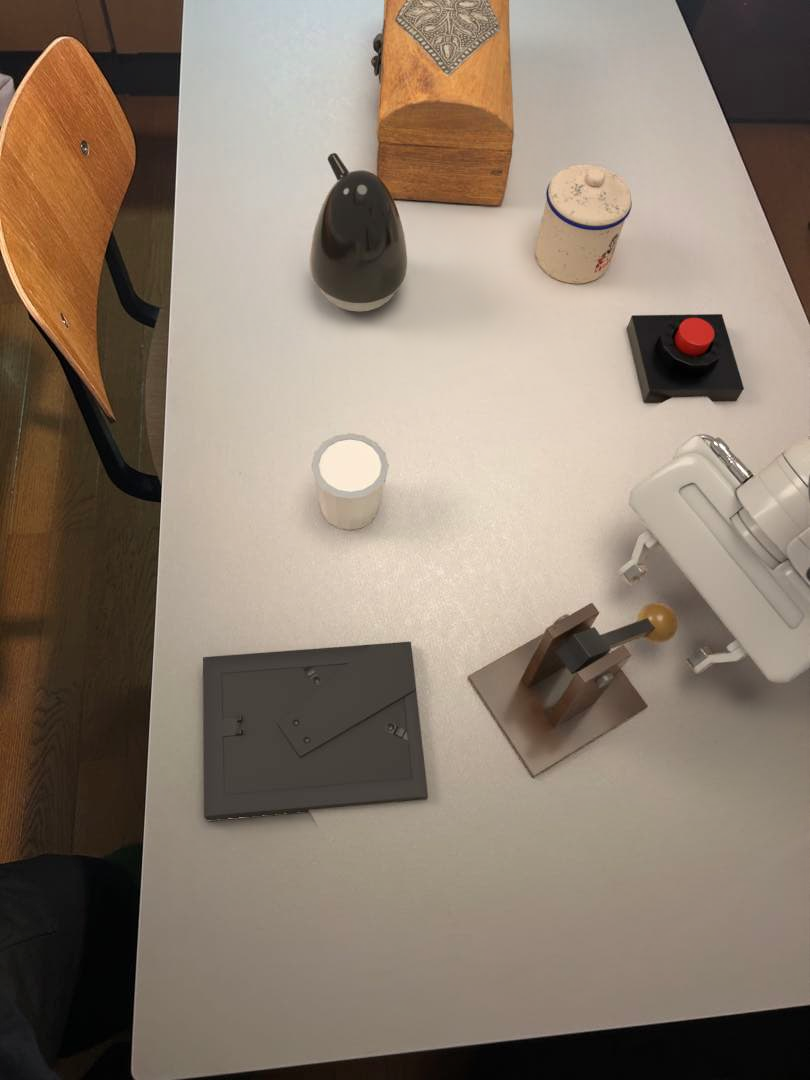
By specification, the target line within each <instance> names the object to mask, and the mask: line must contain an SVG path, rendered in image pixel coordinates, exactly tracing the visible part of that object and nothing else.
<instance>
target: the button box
mask: <svg viewBox="0 0 810 1080" xmlns="http://www.w3.org/2000/svg"><path fill="white" fill-rule="evenodd" d="M688 318H699V319H702V320H704V321H706V322H708V323H709V324H710V325H711V326H712V328H713V330H714V338H713V340H712V342H711V344H710V346H709V348H708V350H707V351H706V352H705V353H704V354H702V355H698V356H691V355H688V354H686V353H683V352H681V351H680V350H679V349H678V348H677V346H676V344H675V341H674V338H675V335H676V333H677V331H678V328H679V326H680V324H681V323H682V322H683V321H684V320H686V319H688ZM626 332H627V333H626V334H627V337H628V341H629V345H630V349H631V354H632V359H633V364H634V366H635V371H636V376H637V379H638V384H639V389H640V392H641V397H642V401H643V404H662V403H665V402H666V401H668V400H670V399H672V398H698V397H700V398H704V397H705V398H708V399H709V400H710V401H711V402H715V403H716V402H737V401H738V399H739V397H741V394H742V393H743V391H744V390H745V387H744V383H743V380H742V377H741V373H740V369H739V367H738V363H737V360H736V357H735V353H734V350H733V347H732V344H731V340H730V336H729V333H728V329H727V326H726V323H725V320H724V317H723V314H722V313H710V314H709V313H708V314H705V313H703V314H700V313H699V314H696V313H695V314H637V315H635V314H634V315H633V314H632V315H631V317H630V319H629V321H628V324H627V326H626Z"/></svg>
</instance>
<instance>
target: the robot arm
mask: <svg viewBox="0 0 810 1080" xmlns="http://www.w3.org/2000/svg"><path fill="white" fill-rule="evenodd" d="M707 441H709V442H710V443H708V442H707ZM628 505H629V506H630V507H631V509H632V510H633V512H634V513H635V514H636V515H637V517H638V518H639V519H640V521H641V522H642V523H643V524H644V526H645V527H646V528H647V529H645V531H643V532H642V533H641V534H639V536H637V537H638V538H637V539H636V543H635V545H634V549H633V552H632V554H631V556H630V557H631V559H630V560H629V561H628V562H626V563H625V564H624V565H623V566H621V567H620V568H619V569H618V573H619V575H620V576H621V577H622V578H623V580H624V581H625V582H626V583H627V585H634V584H636V583H637V582H638V581H640V580H641V577H645V576H646V575H648V573H650V571H649V569H648V568H647V567H646V566H645V564H646V561H647V558H648V556H649V554H650V551H651V549H659V548H660V547H662V548H663V549H664V551H665V552H666V553H667V555H668V556H669V557H670V558H671V560H672V561H673V562H674V563H675V565H676V566H677V568H679V570H680V571H681V573H683V575H684V576H685V577H686V578H687V580H688V581H689V582H690V584H691V585H692V586H693V587H694V588H695V590H696V591H697V593H699V595H700V596H701V597H702V599H703V600H704V601H705V602H706V604H707V605H708V606H709V607H710V609H711V610H712V611H713V612H714V613H715V615H716V616H717V618H718V619H719V620H720V622H722V624H723V625H724V626H725V627H726V629H727V630H728V631H729V632H730V634H731V635H732V637H734V640H733V641H732V642H731V643H729V644H727V646H726V650H728V651H727V652H717V653H713V651H711V649H710V648H709V646H704V647H700V648H698V649H697V650H696V651H695V652H694V653H693V654H691V655H689V656H688V657H687V658H686V659H685V661H686V663H687V664H688V666H689V667H690V668H691V669H692V670H693V672H694V673H695V674H696V675H697V674H701V673H702V672H704V671H706V670H707V669H708V668H710V667H711V666H712V665H715V664H719V663H733V662H738V661H741V660H744V659H745V658H747V657H749V658H750V659H751V660H752V662H753V663H754V665H756V667H757V668H758V669H759V671H760V672H761V673H762V674H763V675H764V677H765V678H766V679H767V680H768V681H769V682H772V683H778V684H787V683H789V682H791V681H793V680H795V679H796V678H797V677H798V676H800V675H802V674H803V673H804V672H805V671H807V670H808V669H809V668H810V435H809V436H808V437H806V438H805V439H803V440H802V441H800V442H798V443H795V444H793V445H791V446H788V447H787V448H785V449H784V450H783V451H782V452H780V453H779V454H778V455H777V456H776V457H774V458H773V459H772V460H771V461H770V462H768V463H767V464H766V465H765V466H764V467H762V468H761V469H760V470H759V471H757V472H756V473H754V474H753V472H752V471H751V470H750V469H749V468H748V467H747V465H745V464H744V463H743V461H742V460H741V459H740V458H738V457H737V456H736V455H735V454H734V453H733V452H732V450H730V447H729V445H728V444H727V443H726V442H725V441H724V440H723V439H721V438H720V437H714V436H712V435H709V434H704V433H703V434H696V435H694V436H692V437H690V438H689V439H688V440H686V441H685V442H684V443H683V444H681V446H680V447H679V448H677V449H676V451H675V452H674V454H673V457H672V459H671V460H670V461H668V462H666V463H665V464H663V465H662V466H660V467H659V468H657V469H656V470H654V471H653V472H651V473H650V474H648V475H647V476H646V477H644V478H643V479H642V480H641V481H639V482H638V483H637V484H636V485H634V486H633V487H632V488H631V489H630V492H629V497H628Z"/></svg>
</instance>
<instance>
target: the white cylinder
mask: <svg viewBox="0 0 810 1080" xmlns="http://www.w3.org/2000/svg"><path fill="white" fill-rule="evenodd" d="M311 471H312V475H313V479H314V484H315V488H316V493H317V497H318V502H319V506H320V510H321V511H320V512H321V514H322V516H323V517H324V518H325V520H326V521H327V522H328V523H329V524H330V525H333V526H334V527H335V528H337V529H341V530H347V531H352V530H353V531H354V530H357V529H362V528H364V527H366V526H368V525H369V524H371V523H372V521H373V520H374V519H375V518H376V516H377V515H378V512H379V508H380V504H381V500H382V496H383V492H384V487H385V484H386V480H387V476H388V471H389V462H388V457H387V454H386V452H385V451H384V450H383V448H382V447H381V446H380V445H379V444H378V442H377V441H374V440H372V439H371V438H370V437H367V436H365V435H361V434H355V433H343V434H338V435H334V436H332V437H331V438H329V439H327V440H325V441H323V442H322V443H321V444H320V445H319V447H318V448H317V449H316V451H315V452H314V454H313V458H312V461H311Z"/></svg>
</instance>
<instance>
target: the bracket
mask: <svg viewBox="0 0 810 1080" xmlns="http://www.w3.org/2000/svg"><path fill="white" fill-rule="evenodd" d="M599 614H600V611H599V610H598V608H597V607H596V606H595V604H594V603H593V602H590V603H589V604H587V605H585V606H584V607H582V608H580V609H578V610H576V611H574V612H573V613H571V614H569V613H566V614H563V615H562V616H560V617H558V618H557V619H555V621H554V622H553V624H551V625H549V626H547V627H546V628H545V630H544V632H543V633H541V634H539V635H538V636H536V637H535V638H533V639H531V640H529V641H527V642H526V643H523V644H522V645H520V646H519V647H517V648H515V649H514V650H512V651H509V652H508V653H506V654H505V655H503V656H501V657H499V658H497V659H496V660H494V661H492V662H490V663H489V664H487V665H485V666H482V667H481V668H480V669H478V670H476V671H474V672H473V673H471V674H469V675H468V676H467V680H468V681H469V683H470V685H471V686H472V687H473V689H474V691H475V692H476V694H477V695H478V697H479V698H480V700H481V701H482V703H483V704H484V706H485V708H486V709H487V710H488V712H489V713H490V715H491V717H492V718H493V720H494V721H495V722H496V724H497V726H498V727H499V729H500V730H501V732H502V733H503V735H504V737H505V738H506V739H507V741H508V743H509V744H510V746H511V747H512V749H513V750H514V752H515V754H516V755H517V757H518V758H519V759H520V761H521V763H522V764H523V766H524V767H525V769H526V770H527V772H528V773H529V775H530V776H531V778H533V779H534V778H536V777H537V776H539V775H540V774H542V773H544V772H545V771H547V770H549V769H551V768H552V767H553V766H555V765H557V764H559V763H560V762H562V761H563V760H565V759H566V758H569V757H570V756H571V755H573V754H574V753H576V752H578V751H580V750H581V749H582V748H584V747H586V746H587V745H589V744H591V743H593V742H594V741H596V740H598V739H599V738H600V737H602V736H604V735H605V734H607V733H609V732H610V731H612V730H613V729H615V728H617V727H618V726H620V725H622V724H623V723H624V722H626V721H628V720H629V719H631V718H632V717H634V716H636V715H638V714H639V713H641V712H642V711H644V710H646V709H647V708H648V704H647V703H646V701H645V700H644V698H643V697H642V696H641V695H640V693H639V692H638V691H637V689H636V688H635V686H634V685H633V683H632V682H631V681H630V679H629V678H628V676H626V673H625V672H624V671H623V670H622V668H624V666H626V663H627V662H628V661H629V659H630V658H631V657H632V654H631V653H630V651H629V649H627V647H626V646H625V644H623V645H620V646H618V647H616V648H614V650H612V651H609V652H608V653H607V654H606V655H605V656H604V657H602V658H600V659H598V660H597V661H595V662H593V663H592V664H590V665H588V666H587V667H585V668H583V669H581V670H580V671H578V672H577V673H574V674H571V673H570V671H569V670H568V668H567V667H566V666H565V664H564V663H563V661H562V660H561V658H560V657H559V656H558V654H557V653H556V650H557V649H558V648H559V647H561V646H562V645H563V644H564V643H565V642H566V641H567V640H568V639H569V638H570V637H571V636H572V635H573V634H576V633H579V632H581V631H584V630H587V629H590V628H592V626H593V624H594V623H595V622H596V620H597V617H598V616H599Z"/></svg>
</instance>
